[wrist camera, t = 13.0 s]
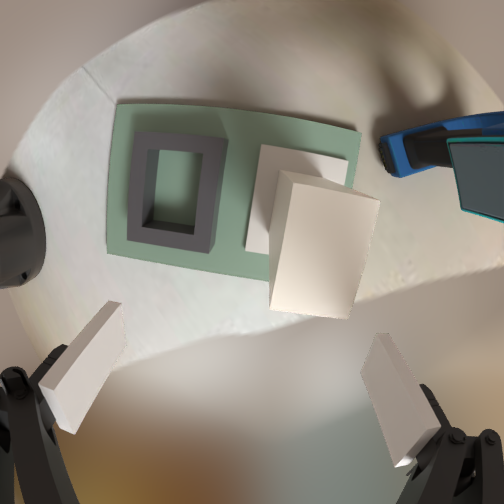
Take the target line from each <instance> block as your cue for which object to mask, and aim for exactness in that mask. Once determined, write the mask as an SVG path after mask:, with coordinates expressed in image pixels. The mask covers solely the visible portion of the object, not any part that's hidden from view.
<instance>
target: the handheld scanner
mask: <svg viewBox="0 0 504 504" xmlns="http://www.w3.org/2000/svg"><path fill="white" fill-rule="evenodd" d="M380 140H381V143H380V144H379V147H380V148H379V151H380V154H381V157H382V160H383V163H384V167H385V170H387V172H388V173H391V175H392V176H394V177H398V178H402V177H405V176H408V175H412V174H415V173H418V172H421V171H424V170H427V169H430V168H433V167H436V166H441V167H449V168H453V170H454V174H455V179H456V184H457V189H458V195H459V200H460V207H461V210H462V211H465V212H469V213H472V214H476V215H479V216H482V217H486V218H489V219H492V220H495V221H498V222H501V223H504V111H500V112H490V113H482V114H475V115H469V116H463V117H457V118H452V119H447V120H443V121H438V122H434V123H430V124H426V125H422V126H419V127H415V128H411V129H407V130H403V131H400V132H396V133H393V134H389V135H386V136H382V137H381V138H380Z"/></svg>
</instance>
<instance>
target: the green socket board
mask: <svg viewBox="0 0 504 504" xmlns="http://www.w3.org/2000/svg"><path fill="white" fill-rule="evenodd" d="M361 135H362V133H360V132H356V131H352V130H348V129H344V128H340V127H336V126H332V125H327V124H323V123H318V122H313V121H308V120H303V119H298V118H293V117H287V116H281V115H275V114H269V113H262V112H255V111H247V110H239V109H230V108H220V107H209V106H195V105H176V104H117V109H116V116H115V123H114V130H113V138H112V147H111V156H110V168H109V181H108V200H107V254H112V255H118V256H123V257H128V258H133V259H139V260H144V261H150V262H155V263H161V264H166V265H172V266H177V267H183V268H189V269H195V270H201V271H206V272H212V273H218V274H224V275H230V276H237V277H243V278H249V279H255V280H262V281H268V282H269V229H270V223H271V218H272V212H273V206H274V200H275V194H276V188H277V182H278V176H279V170H285V171H290V172H296V173H301V174H307V175H312V176H317V177H322V178H325V179H328V180H330V181H333V182H336V183H338V184H341V185H343V186H346V187H348V188H351V189H352V187H353V181H354V176H355V171H356V165H357V159H358V153H359V147H360V141H361Z"/></svg>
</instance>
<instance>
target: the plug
mask: <svg viewBox="0 0 504 504" xmlns="http://www.w3.org/2000/svg"><path fill="white" fill-rule="evenodd" d="M380 202H381V201H380V200H377V199H375V198H373V197H370V196H368V195H366V194H363V193H361V192H358V191H356V190H353V189H351V188H348V187H346V186H343V185H341V184H338V183H336V182H333V181H330V180H328V179H325V178H322V177H317V176H312V175H307V174H301V173H296V172H290V171H285V170H279V176H278V182H277V188H276V194H275V200H274V206H273V212H272V218H271V223H270V229H269V309H270V310H277V311H284V312H291V313H298V314H306V315H314V316H323V317H331V318H340V319H348V318H349V315H350V312H351V308H352V306H353V303H354V299H355V296H356V293H357V290H358V287H359V283H360V280H361V277H362V273H363V270H364V266H365V263H366V259H367V255H368V252H369V248H370V244H371V240H372V236H373V232H374V228H375V224H376V220H377V215H378V211H379V206H380Z"/></svg>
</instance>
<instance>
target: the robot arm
mask: <svg viewBox="0 0 504 504" xmlns="http://www.w3.org/2000/svg"><path fill="white" fill-rule="evenodd" d="M45 252H46V237H45V229H44V224H43V219H42V216H41V212H40V209H39V207H38V204H37V202H36V200H35V198H34V196H33V195H32V193H31V192H30V190H29V189H28V188H27V187H26V186H25V185H24V184H23V183H22V182H21V181H19V180H17V179H15V178H4V179H0V289H4V288H11V287H18V286H22V285H24V284H26V283H27V282H29V281H30V280H32V279H33V278H35V277H36V276H37V275H38V273H39V272H40V270H41V268H42V266H43V263H44V259H45ZM126 346H127V345H126V337H125V330H124V322H123V313H122V303H118V302H113V301H108V302H107V303H106V304H105V305H104V306H103V307H102V308H101V310H100V311H99V312H98V313H97V314H96V315H95V316H94V317H93V319H92V320H91V321H90V322H89V323H88V324H87V325H86V326H85V328H84V329H83V330H82V331H81V332H80V333H79V335H78V336H77V337H76V338H75V339H74V340H73V342H72V343H71V344H70V345H69V346H67V345H64V344H62V345H60V346H58V347H57V348H55V349H53V351H52V352H51V353H50V354H49V355H48V358H46V359H45V360H44V361H43V363H41V365H40V366H39V367H38V368H37V369H36V371H35V372H34V373H33V374H32V375H31V377H30V378H28V376H27V374H26V372H25V370H23V369H22V368H20V367H9V368H7V369H5V370H4V371H3V372H2V373H1V374H0V383H1V385H2V387H0V504H15V502H14V462H15V467H16V471H17V476H18V480H19V484H20V488H21V492H22V495H23V499H24V502H25V504H80V503H79V501H78V499H77V496H76V494H75V492H74V489H73V486H72V484H71V481H70V478H69V476H68V473H67V470H66V467H65V464H64V461H63V458H62V455H61V452H60V448H59V445H58V441H57V438H56V434H55V430H54V428H53V424H54V422H55V421H57V423H58V425H59V427H60V428H61V429H63V430H65V431H68V432H70V433H73V434H75V433H76V431H77V429H78V428H79V426H80V424H81V422H82V420H83V419H84V417H85V415H86V413H87V411H88V410H89V408H90V406H91V404H92V403H93V401H94V399H95V397H96V396H97V394H98V392H99V391H100V389H101V387H102V385H103V384H104V382H105V380H106V379H107V377H108V375H109V374H110V372H111V370H112V369H113V367H114V365H115V364H116V362H117V360H118V359H119V357H120V356H121V354H122V352H123V351H124V349H125V347H126ZM360 373H361V375H362V378H363V380H364V383H365V386H366V388H367V391H368V394H369V396H370V399H371V401H372V404H373V407H374V410H375V412H376V415H377V418H378V421H379V424H380V426H381V429H382V432H383V435H384V438H385V441H386V443H387V446H388V449H389V452H390V455H391V458H392V461H393V465H394V467H398V466H403V465H407V464H410V462H411V461H412V460H413V459H414V458H415V457H416V459H417V461H418V463H417V464H416V465H415V466H414V467H413V468H412V469H411V470H410V471H409V472H408V473H407V474H406V475H407V476H408V475H409V474H410V473H411V475H410V477H409V479H408V481H407V483H406V485H405V487H404V489H403V491H402V493H401V495H400V497H399V499H398V501H397V503H396V504H504V461H503V452H502V444H501V439H500V436H499V435H498V433H497V432H495V431H494V430H491V429H486V430H484V431H482V433H481V434H480V435H479V436H478V437H474V436H473V437H472V436H466V434H465V433H464V432H463V431H462V430H461V429H459V428H455V427H451V425H450V423H449V421H448V420H447V418H446V416H445V414H444V412H443V410H442V409H441V407H440V406H439V403H438V402H437V400H435V397H434V395H433V393H432V391H431V390H430V389H429V388H428V387H427V386H426V385H424V384H420V385H419V384H418V382H417V380H416V379H415V377H414V375H413V373H412V372H411V370H410V368H409V367H408V365H407V363H406V361H405V360H404V359H403V357H402V355H401V353H400V351H399V350H398V348H397V346H396V345H395V343H394V342H393V340H392V338H391V337H390V335H389V334H388V333H376V335H375V338H374V340H373V343H372V345H371V348H370V350H369V353H368V355H367V358H366V360H365V362H364V365H363V367H362V369H361V372H360Z"/></svg>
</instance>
